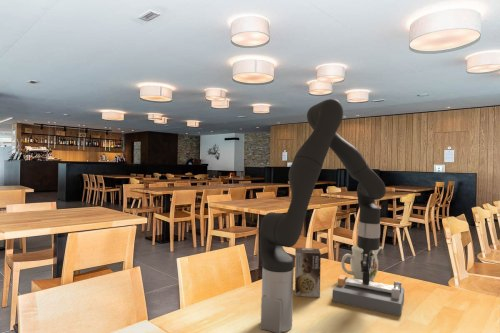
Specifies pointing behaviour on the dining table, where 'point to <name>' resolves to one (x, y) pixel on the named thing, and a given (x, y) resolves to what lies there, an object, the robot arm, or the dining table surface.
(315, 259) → the coffee box
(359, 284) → the metal hinged lever
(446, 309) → the dining table surface
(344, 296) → the block
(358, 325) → the dining table surface
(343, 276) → the block
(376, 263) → the pitcher
